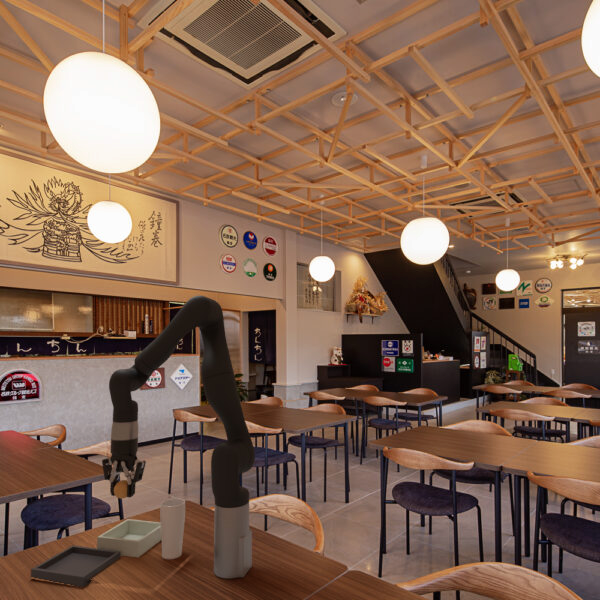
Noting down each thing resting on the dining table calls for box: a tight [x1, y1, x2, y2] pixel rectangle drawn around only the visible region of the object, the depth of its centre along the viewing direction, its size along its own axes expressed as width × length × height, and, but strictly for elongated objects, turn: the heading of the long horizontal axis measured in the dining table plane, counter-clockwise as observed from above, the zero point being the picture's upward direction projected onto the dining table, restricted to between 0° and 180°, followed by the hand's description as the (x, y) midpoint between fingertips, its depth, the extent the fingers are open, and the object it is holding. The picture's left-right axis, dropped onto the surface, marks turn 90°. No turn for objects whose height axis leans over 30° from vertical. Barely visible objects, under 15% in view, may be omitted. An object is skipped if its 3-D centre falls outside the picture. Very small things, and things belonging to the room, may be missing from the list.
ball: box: [114, 479, 128, 499], centre depth 128 cm, size 5×5×5 cm
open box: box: [96, 518, 162, 558], centre depth 129 cm, size 14×14×5 cm
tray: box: [30, 545, 122, 589], centre depth 116 cm, size 16×14×2 cm
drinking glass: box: [159, 498, 186, 560], centre depth 123 cm, size 7×7×15 cm
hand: (122, 495), depth 128 cm, fingers closed on ball, 5 cm apart
